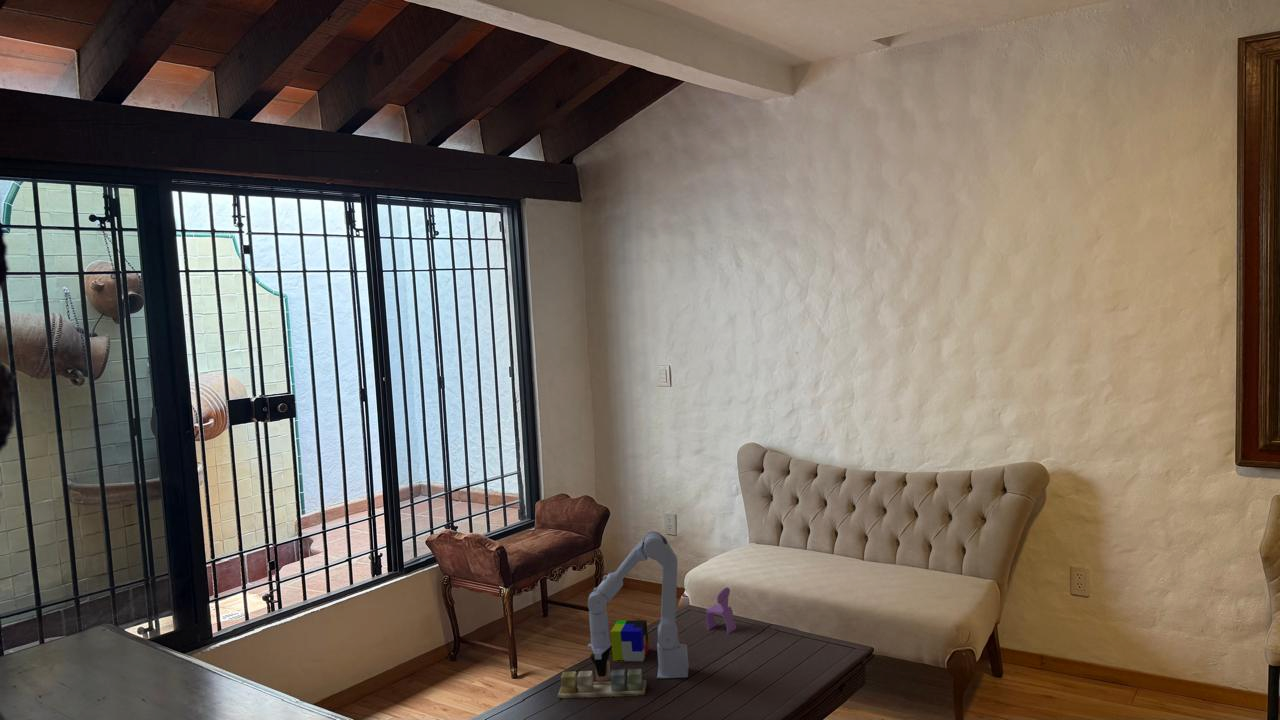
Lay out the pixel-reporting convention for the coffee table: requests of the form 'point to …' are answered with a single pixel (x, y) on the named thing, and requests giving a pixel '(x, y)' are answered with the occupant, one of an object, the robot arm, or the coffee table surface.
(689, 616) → the coffee table surface
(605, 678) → the terracotta block
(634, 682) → the rack
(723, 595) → the toy chair
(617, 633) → the puzzle toy
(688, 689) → the coffee table surface
